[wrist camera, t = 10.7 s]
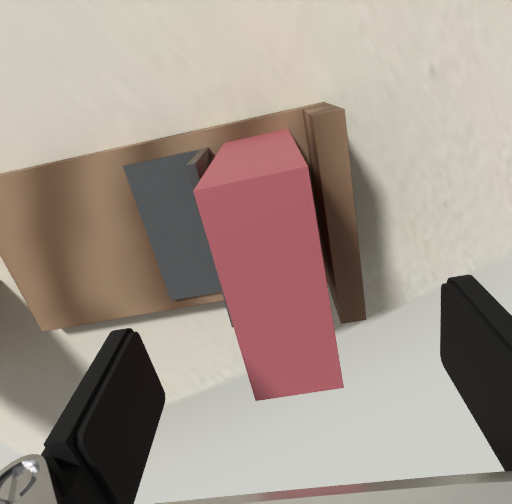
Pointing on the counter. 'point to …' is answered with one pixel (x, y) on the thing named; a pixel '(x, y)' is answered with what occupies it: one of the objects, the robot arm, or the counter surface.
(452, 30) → the counter surface
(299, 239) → the boxed book
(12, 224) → the book rack
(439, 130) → the counter surface
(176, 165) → the bookend
